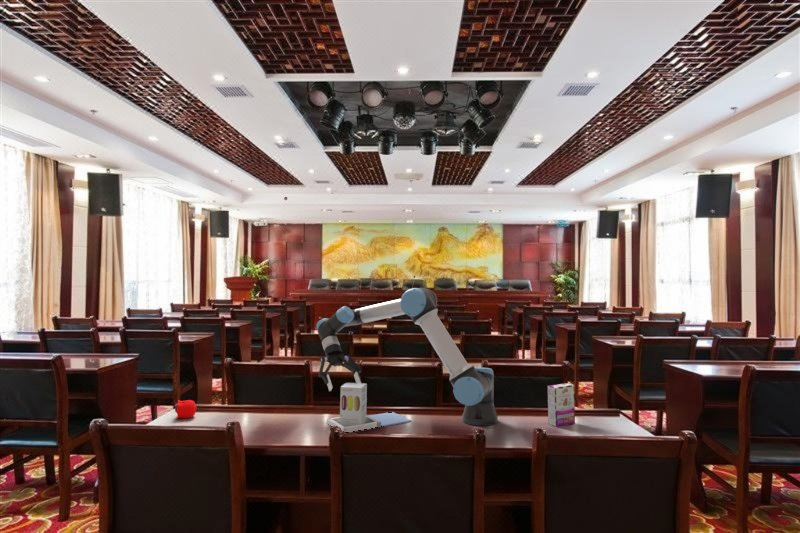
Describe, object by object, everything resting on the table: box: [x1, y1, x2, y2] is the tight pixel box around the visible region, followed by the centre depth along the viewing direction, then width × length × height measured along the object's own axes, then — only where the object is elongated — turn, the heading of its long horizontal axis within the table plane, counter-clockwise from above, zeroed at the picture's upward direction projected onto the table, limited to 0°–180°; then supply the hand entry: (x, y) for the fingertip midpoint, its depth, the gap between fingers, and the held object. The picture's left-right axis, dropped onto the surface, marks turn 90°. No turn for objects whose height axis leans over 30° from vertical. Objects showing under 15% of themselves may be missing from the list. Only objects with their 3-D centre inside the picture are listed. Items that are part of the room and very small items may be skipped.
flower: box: [176, 399, 198, 419], centre depth 211 cm, size 8×8×8 cm
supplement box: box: [339, 382, 368, 427], centre depth 200 cm, size 10×9×17 cm
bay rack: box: [326, 411, 412, 433], centre depth 204 cm, size 16×32×2 cm, turn 122°
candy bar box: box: [547, 382, 576, 428], centre depth 204 cm, size 11×5×16 cm, turn 117°
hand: (345, 387), depth 206 cm, fingers open, 13 cm apart
